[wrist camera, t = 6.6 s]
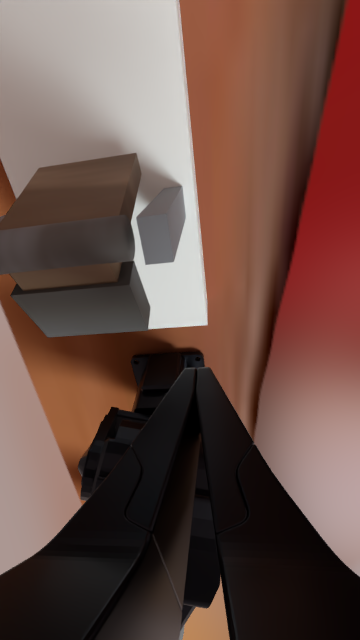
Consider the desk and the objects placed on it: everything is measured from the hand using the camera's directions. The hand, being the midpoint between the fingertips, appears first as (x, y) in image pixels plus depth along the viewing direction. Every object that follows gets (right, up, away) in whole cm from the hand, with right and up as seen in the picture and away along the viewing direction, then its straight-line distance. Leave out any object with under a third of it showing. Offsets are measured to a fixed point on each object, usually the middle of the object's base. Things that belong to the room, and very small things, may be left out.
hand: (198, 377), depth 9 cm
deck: (-4, +10, +10) cm, 14 cm away
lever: (-5, +8, +6) cm, 11 cm away
